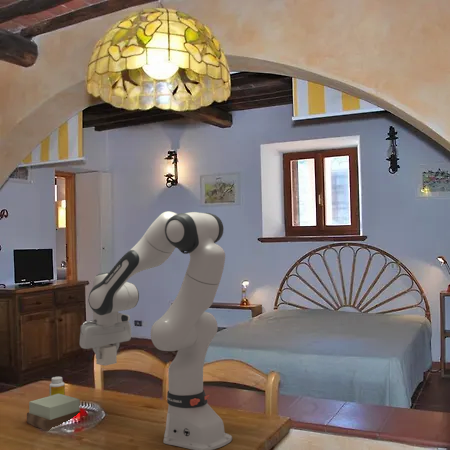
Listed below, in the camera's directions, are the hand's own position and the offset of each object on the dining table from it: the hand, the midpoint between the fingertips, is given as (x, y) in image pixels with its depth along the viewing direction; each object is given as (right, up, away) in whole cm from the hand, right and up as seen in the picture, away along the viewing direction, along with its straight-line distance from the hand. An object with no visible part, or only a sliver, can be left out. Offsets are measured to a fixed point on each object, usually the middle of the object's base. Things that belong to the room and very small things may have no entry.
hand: (106, 357), depth 201 cm
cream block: (0, -2, 0) cm, 2 cm away
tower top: (-17, -18, -5) cm, 25 cm away
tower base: (-17, -22, -5) cm, 28 cm away
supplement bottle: (-22, -22, +15) cm, 35 cm away
